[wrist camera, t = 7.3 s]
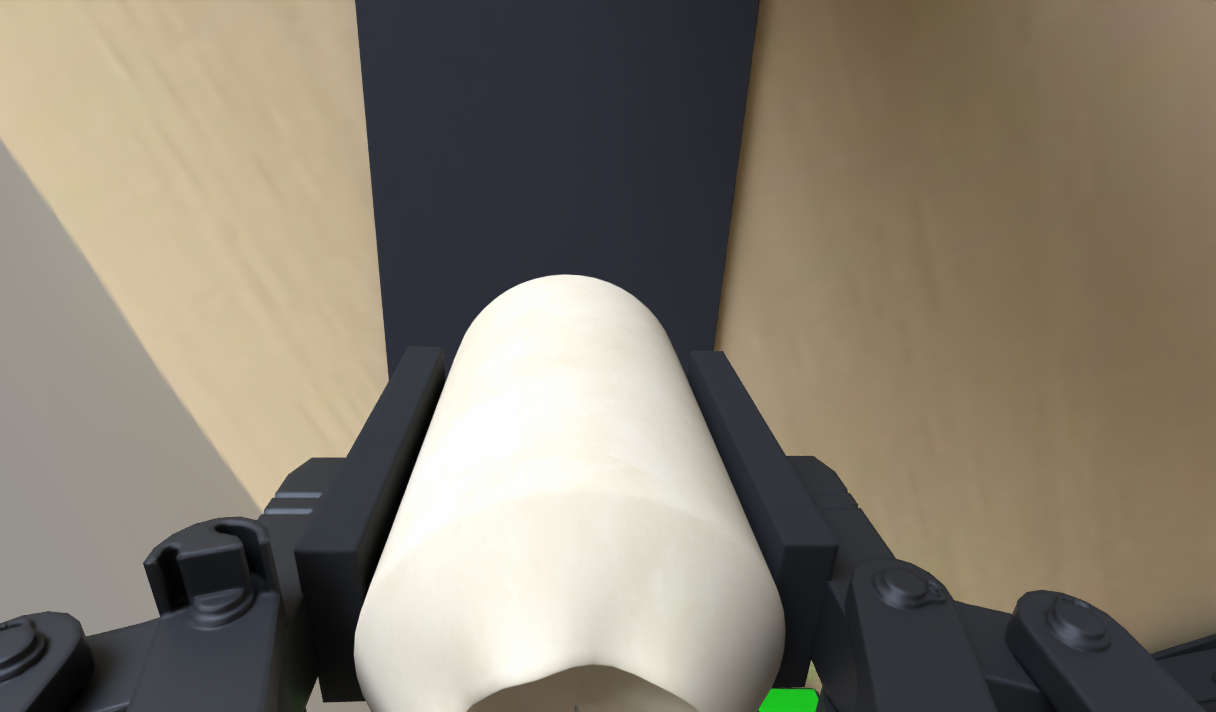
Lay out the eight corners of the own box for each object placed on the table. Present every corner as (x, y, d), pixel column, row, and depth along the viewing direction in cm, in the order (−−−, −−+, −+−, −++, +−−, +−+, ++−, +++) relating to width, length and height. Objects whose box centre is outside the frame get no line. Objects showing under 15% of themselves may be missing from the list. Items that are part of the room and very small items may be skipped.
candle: (497, 489, 17) (428, 963, 8) (422, 306, 15) (202, 671, 6) (693, 438, 17) (854, 863, 8) (647, 243, 15) (797, 518, 5)
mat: (351, -76, 24) (348, -79, 23) (762, -42, 25) (765, -44, 25) (392, 397, 31) (390, 401, 31) (704, 401, 33) (706, 405, 33)
